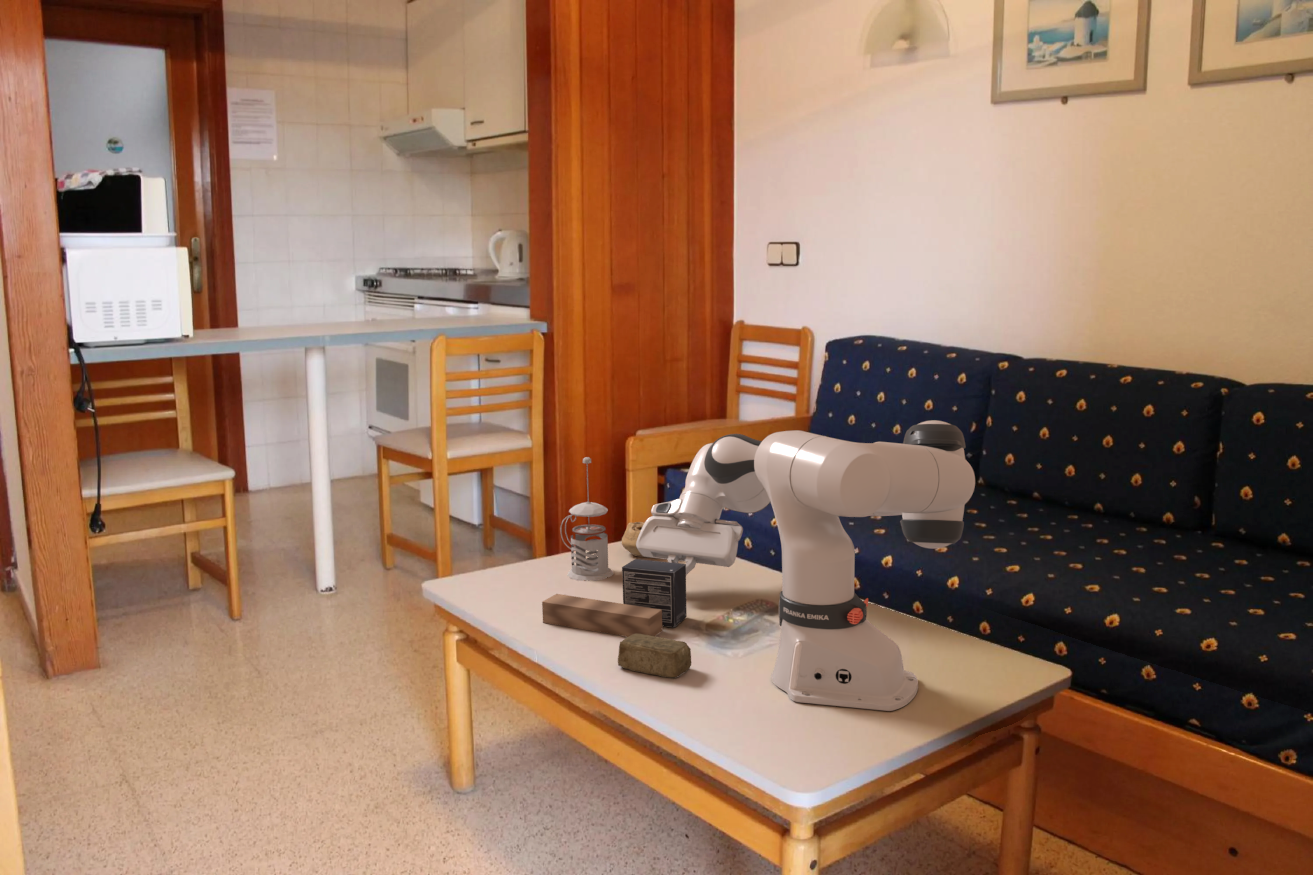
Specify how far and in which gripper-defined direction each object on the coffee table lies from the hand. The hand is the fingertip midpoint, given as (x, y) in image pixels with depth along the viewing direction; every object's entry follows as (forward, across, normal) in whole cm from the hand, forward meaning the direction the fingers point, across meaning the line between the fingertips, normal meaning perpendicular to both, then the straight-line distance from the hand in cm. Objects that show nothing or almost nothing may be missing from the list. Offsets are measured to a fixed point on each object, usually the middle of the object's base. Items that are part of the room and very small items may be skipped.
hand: (675, 579), depth 205 cm
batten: (+15, +7, +8) cm, 19 cm away
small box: (+10, 0, +3) cm, 10 cm away
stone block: (+25, -10, +18) cm, 32 cm away
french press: (-4, +26, -11) cm, 28 cm away
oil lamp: (-16, +22, -24) cm, 36 cm away
